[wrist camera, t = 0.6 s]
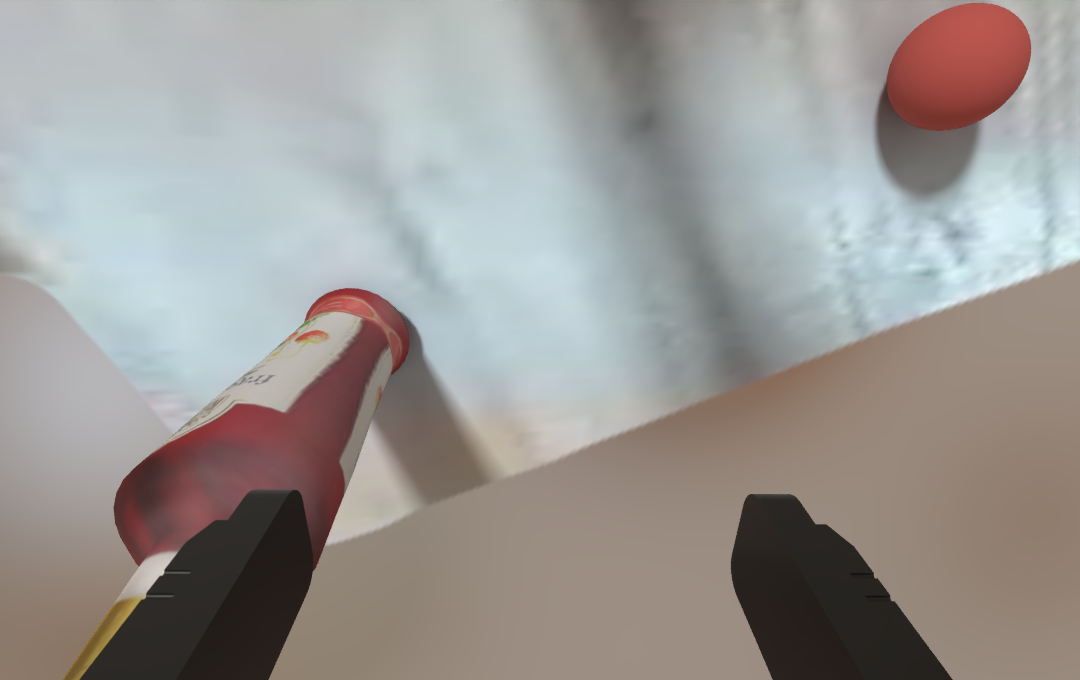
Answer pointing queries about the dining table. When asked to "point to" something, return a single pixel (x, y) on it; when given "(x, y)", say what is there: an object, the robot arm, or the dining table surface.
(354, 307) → the red condiment bottle
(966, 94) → the ball
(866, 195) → the dining table surface
